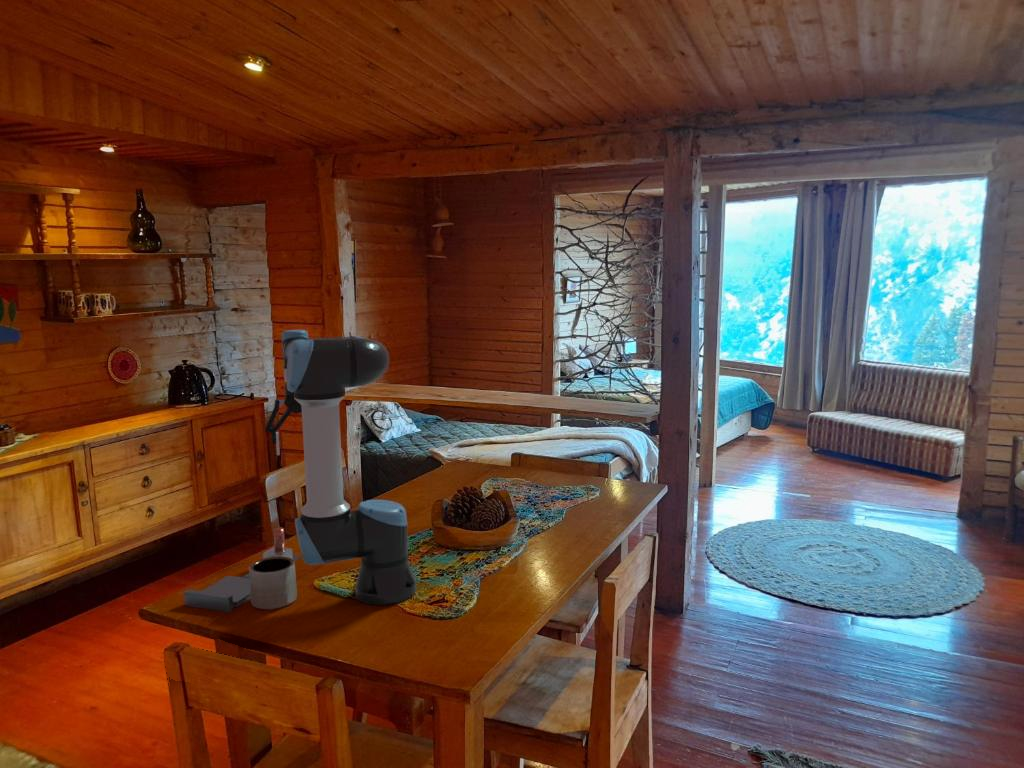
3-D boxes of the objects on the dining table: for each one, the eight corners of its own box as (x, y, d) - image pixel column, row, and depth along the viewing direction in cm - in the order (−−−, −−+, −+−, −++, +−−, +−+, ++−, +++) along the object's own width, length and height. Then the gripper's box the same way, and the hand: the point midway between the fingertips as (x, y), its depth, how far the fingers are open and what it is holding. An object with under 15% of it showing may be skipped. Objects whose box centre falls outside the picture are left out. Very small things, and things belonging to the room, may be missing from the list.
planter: (254, 615, 173) (252, 576, 172) (248, 597, 183) (245, 561, 181) (301, 605, 178) (299, 567, 177) (292, 588, 187) (290, 553, 186)
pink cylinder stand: (273, 570, 197) (271, 539, 195) (254, 568, 198) (252, 537, 197) (292, 558, 205) (291, 528, 204) (274, 556, 207) (272, 526, 206)
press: (229, 611, 175) (228, 598, 174) (185, 605, 179) (183, 591, 178) (309, 559, 207) (309, 547, 206) (270, 554, 211) (270, 543, 210)
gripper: (339, 377, 224) (342, 445, 227) (253, 383, 215) (257, 453, 218) (342, 380, 217) (345, 450, 220) (253, 386, 208) (258, 458, 211)
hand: (302, 452), depth 219 cm, fingers open, 13 cm apart
